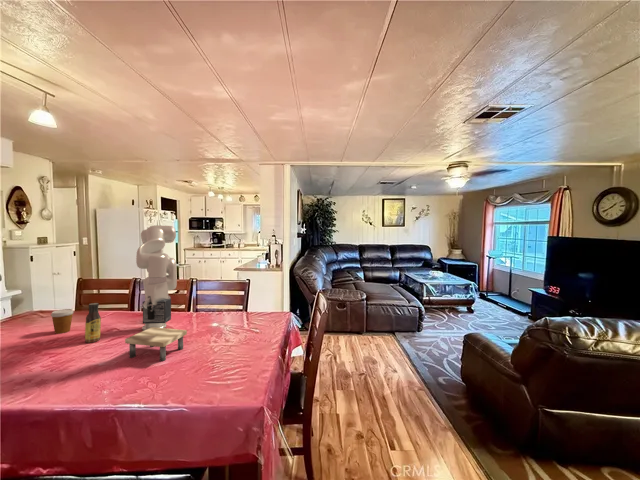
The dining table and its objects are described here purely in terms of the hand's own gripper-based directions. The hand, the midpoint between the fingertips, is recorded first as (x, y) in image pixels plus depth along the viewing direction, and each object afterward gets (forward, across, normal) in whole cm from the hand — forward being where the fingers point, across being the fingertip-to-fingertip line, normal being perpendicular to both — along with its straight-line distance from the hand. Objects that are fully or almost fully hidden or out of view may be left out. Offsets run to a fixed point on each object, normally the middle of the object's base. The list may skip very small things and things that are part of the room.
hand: (157, 316), depth 131 cm
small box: (+3, 0, 0) cm, 3 cm away
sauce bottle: (+18, -5, -43) cm, 47 cm away
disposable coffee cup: (+17, -12, -72) cm, 75 cm away
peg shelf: (+18, 0, 0) cm, 18 cm away
